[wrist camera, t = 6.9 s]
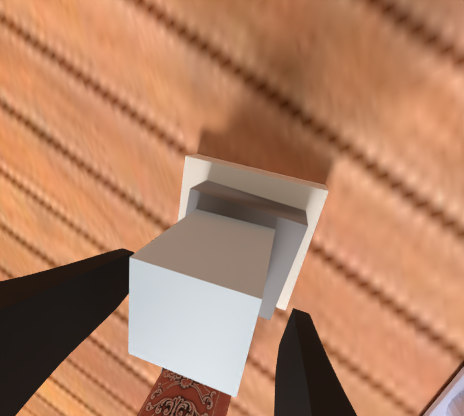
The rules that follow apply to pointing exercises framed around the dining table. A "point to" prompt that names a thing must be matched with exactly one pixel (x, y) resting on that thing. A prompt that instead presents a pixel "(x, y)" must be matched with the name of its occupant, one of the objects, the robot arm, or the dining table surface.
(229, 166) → the base slab
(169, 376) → the lighter
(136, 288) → the gray block
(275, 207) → the gray slab
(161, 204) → the dining table surface
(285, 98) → the dining table surface
